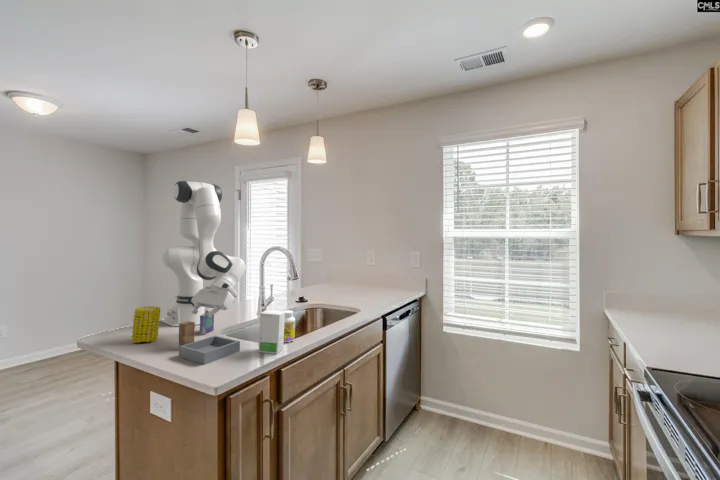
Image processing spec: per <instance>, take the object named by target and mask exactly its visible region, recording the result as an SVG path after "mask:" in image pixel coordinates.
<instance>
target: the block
mask: <svg viewBox="0 0 720 480" xmlns="http://www.w3.org/2000/svg"><path fill="white" fill-rule="evenodd" d="M195 326H196V325H195V322H190V321H186V322H182V323H179V326H178V347H179V346H182V345H185V344H188V343H192V342H195Z"/></svg>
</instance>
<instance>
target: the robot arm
mask: <svg viewBox="0 0 720 480" xmlns="http://www.w3.org/2000/svg"><path fill="white" fill-rule="evenodd" d="M172 193H173V197H174V199H175V200H176V202H179V203H181V205H180V206H181V207H180V213H179V233H180V235H181V236H182V237H183V238H185V239H186V240H189V241H191V242H192V245H191V246H189V245H187V246H186V245H185V246H184V245H183V246H182V245H180V246H178V245H177V246H176V245H175V246H171V247H167V248H165V250H164V251H163V252H162V253H163V254H162V258H161V259H162V262H163V264H164V265H165V266H166V267H167V268H169V270H171V271H172V272H173V273H174V275H175V276H176V279H177V281H178V295H175V298H176V301H175V302H176V303H174V304H173V305H172V306H170V307H169V308H168V309H167V313H166V317H164V318H163V319H164V320H162V319H161V322H162V323H164V324H166V325H168V326H171V327H179V323H182V322H186V321H190V322H195V326H196V325H200V315H202V314H204V313H205V311H204V310H205V309H206V308H210V309H211V310H208V311H209V312H208V313H207V316H208V317H212V316H213V314H214V315H215V314H217V313H218V312H219V311H220V310H221V311H226V310H228V309H230V307H231V306H232V304H233V302H234V301H235V298H237V297H238V295H239V294H238V292H237V291H236V289H235V286H236V284H237V283H239V281H240V279H241V278H242V277H243V275H244V274H245V272H246V268H247V265H246V263H245V262H244V260H243V259H242V258H240V257H239V256H231V255H228V254H225V253H223V252H221V251H219V250H218V249H217V248H215V247H214V246H215V245H214V238H215V235H216V233H217V230H218V228H219V226H220V224H221V222H222V221H221V219H222V210H221V205H220V203H221V201H222V200H223V190H222V188H221V187H220V185H217V184H214V183H207V182H202V181H186V180H178V181H177V182H176V183H175V184H174V186H173V191H172ZM192 268H195V269H196V274H195V273H193V272H192V271H191V269H192ZM203 280H204V281H205V280H206V281H212V280H213V281H212V282H211V283H210V285H208V286H206V287H204V281H203Z"/></svg>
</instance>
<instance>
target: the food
mask: <svg viewBox="0 0 720 480" xmlns="http://www.w3.org/2000/svg"><path fill="white" fill-rule="evenodd" d="M160 318H161V307H160V306H159V307H158V306H154V305H153V306H151V305H148V306H146V305H145V306H141V307H137V308H135V310H134V316H133V319H132V321H133V323H132V332H131V333H132V334H131V341H132V342H131V343H133V344H134V343H135V344H138V343H143V342H144V343H145V342H146V343H149V342H151V343H152V342H155V341H156V340H158V339H159V338H158V336H159V326H160Z"/></svg>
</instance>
